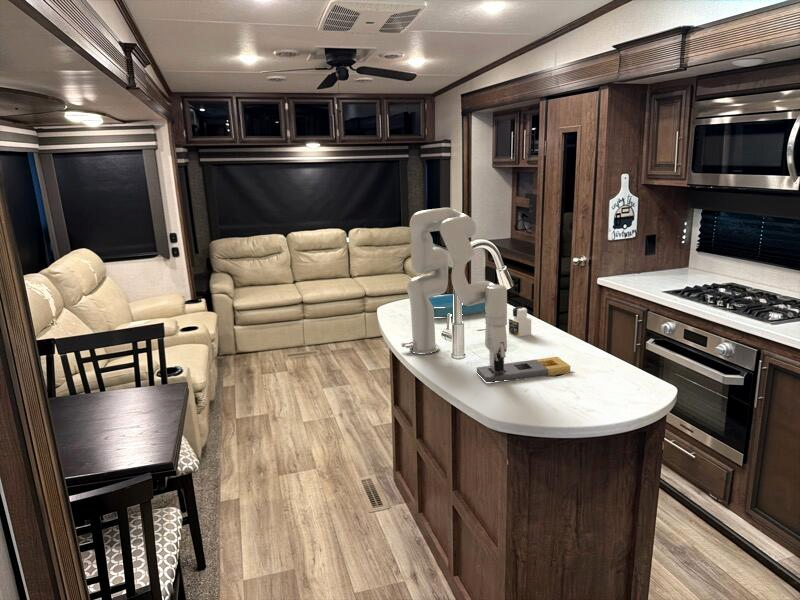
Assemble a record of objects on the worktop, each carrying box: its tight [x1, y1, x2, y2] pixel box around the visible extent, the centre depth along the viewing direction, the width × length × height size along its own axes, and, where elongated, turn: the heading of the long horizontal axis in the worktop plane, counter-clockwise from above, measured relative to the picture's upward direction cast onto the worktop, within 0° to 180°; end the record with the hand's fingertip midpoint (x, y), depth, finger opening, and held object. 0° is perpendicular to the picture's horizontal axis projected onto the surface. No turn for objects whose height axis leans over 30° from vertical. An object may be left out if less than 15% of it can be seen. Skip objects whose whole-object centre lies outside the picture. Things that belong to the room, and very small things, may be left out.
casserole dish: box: [429, 293, 485, 318], centre depth 281 cm, size 37×22×7 cm, turn 106°
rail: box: [476, 356, 571, 382], centre depth 199 cm, size 32×10×2 cm, turn 101°
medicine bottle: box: [508, 306, 532, 338], centre depth 241 cm, size 7×7×12 cm
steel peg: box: [488, 349, 504, 374], centre depth 196 cm, size 4×4×10 cm
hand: (496, 367), depth 197 cm, fingers closed on steel peg, 4 cm apart
